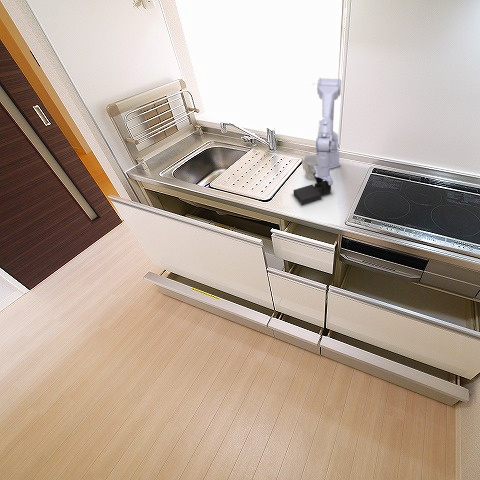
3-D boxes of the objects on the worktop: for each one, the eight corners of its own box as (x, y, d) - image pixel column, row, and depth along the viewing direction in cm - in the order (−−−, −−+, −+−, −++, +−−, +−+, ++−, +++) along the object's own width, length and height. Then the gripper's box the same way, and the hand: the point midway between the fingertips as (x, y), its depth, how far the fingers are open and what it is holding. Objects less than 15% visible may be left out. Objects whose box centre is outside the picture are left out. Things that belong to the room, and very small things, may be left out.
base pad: (315, 188, 127) (316, 183, 125) (325, 198, 122) (325, 192, 120) (293, 195, 123) (293, 189, 121) (302, 205, 118) (301, 200, 116)
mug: (297, 174, 136) (296, 156, 129) (308, 168, 140) (307, 150, 133) (312, 182, 131) (312, 164, 123) (324, 176, 135) (324, 158, 128)
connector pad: (325, 188, 128) (325, 180, 124) (330, 193, 124) (331, 185, 121) (314, 191, 125) (314, 183, 122) (319, 197, 122) (319, 189, 119)
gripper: (307, 159, 117) (308, 184, 127) (323, 174, 108) (322, 200, 118) (321, 155, 120) (321, 181, 129) (337, 170, 111) (336, 196, 121)
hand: (322, 190), depth 124 cm, fingers closed on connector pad, 5 cm apart
